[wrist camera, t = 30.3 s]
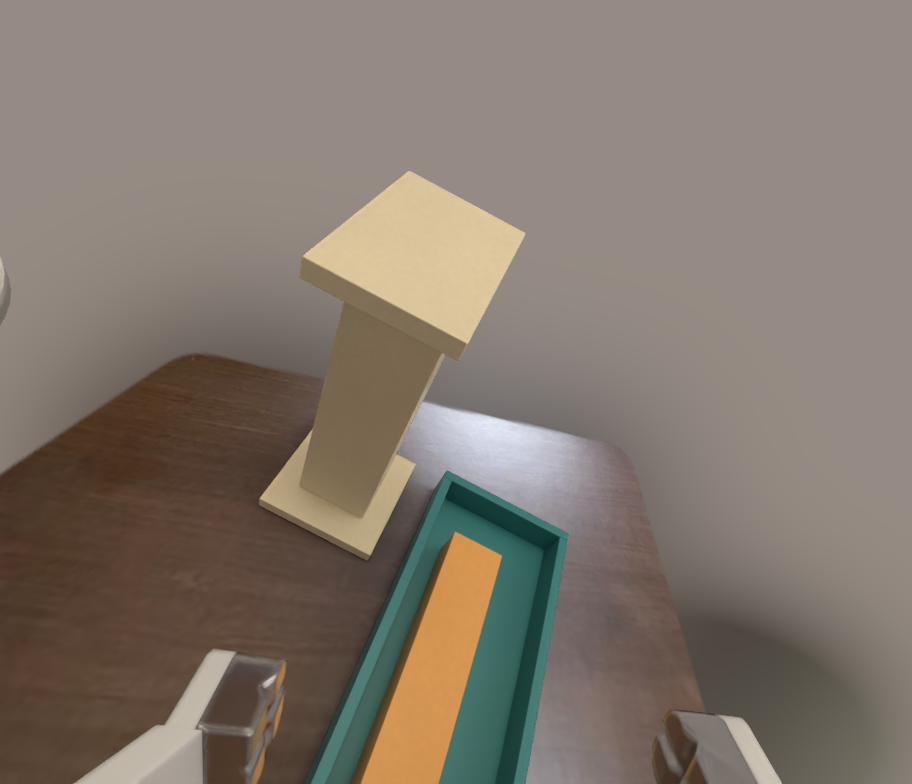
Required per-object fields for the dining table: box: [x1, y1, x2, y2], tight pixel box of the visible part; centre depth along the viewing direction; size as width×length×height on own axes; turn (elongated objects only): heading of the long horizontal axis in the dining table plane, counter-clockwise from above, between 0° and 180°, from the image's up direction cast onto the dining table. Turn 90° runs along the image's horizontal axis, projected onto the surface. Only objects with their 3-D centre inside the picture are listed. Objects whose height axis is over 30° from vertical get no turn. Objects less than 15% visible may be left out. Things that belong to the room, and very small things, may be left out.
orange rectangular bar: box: [350, 532, 502, 784], centre depth 34 cm, size 20×4×4 cm, turn 162°
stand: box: [259, 171, 525, 561], centre depth 34 cm, size 12×10×26 cm
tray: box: [304, 471, 569, 784], centre depth 36 cm, size 27×13×4 cm, turn 162°
